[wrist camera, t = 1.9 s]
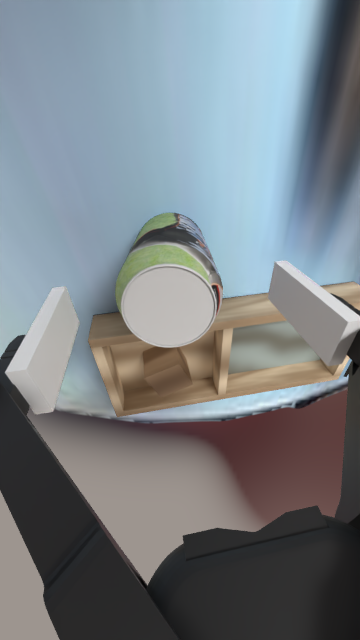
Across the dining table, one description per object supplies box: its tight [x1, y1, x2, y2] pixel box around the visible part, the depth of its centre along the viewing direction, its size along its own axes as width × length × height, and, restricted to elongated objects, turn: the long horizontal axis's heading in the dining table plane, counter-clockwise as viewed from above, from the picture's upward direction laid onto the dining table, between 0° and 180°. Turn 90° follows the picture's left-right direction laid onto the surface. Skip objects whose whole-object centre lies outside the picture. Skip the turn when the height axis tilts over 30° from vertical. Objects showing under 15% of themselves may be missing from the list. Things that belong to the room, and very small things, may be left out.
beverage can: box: [115, 213, 223, 348], centre depth 17 cm, size 6×7×12 cm
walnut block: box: [143, 346, 193, 397], centre depth 28 cm, size 4×4×4 cm
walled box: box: [88, 282, 360, 417], centre depth 29 cm, size 13×30×4 cm, turn 93°
